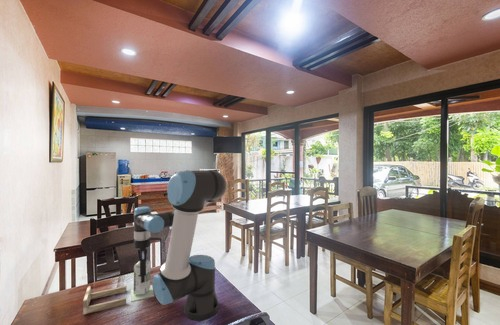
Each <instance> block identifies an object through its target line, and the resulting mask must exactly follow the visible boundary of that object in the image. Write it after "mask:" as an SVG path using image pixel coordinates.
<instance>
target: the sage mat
mask: <svg viewBox="0 0 500 325" xmlns="http://www.w3.org/2000/svg"><path fill="white" fill-rule="evenodd" d="M154 297H155V293H154V290H153V284H150V289H149V290H148V291H147V293H146V294H134V288H131V289H130V302H131V303H133V302H136V301H141V300H144V299H149V298H154Z"/></svg>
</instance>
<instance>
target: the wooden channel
mask: <svg viewBox="0 0 500 325" xmlns="http://www.w3.org/2000/svg"><path fill="white" fill-rule="evenodd" d="M91 287H92V286H91V285H88V286H87V288H86V292H85V294H84V297H83V300H82V305H83V307H82V308H83V310H82V314H83V315H87V314H90V313H96V312H100V311H104V310H107V309H111V308H116V307H120V306H125V305H127V297H125V296H124V297H122V298H121V297H120V298H118V299H112V300H110V301H109V300H108V301H104V302H101V303H96V304H92V305H90V302H91V300H96V299H98V298H104V297H108V296H113V295H118V294H122V293H126V292H127V285H123V286H119V287H118V286H117V287H113V288H109V289H104V290H99V291H95V292H92V288H91Z"/></svg>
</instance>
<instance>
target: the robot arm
mask: <svg viewBox="0 0 500 325" xmlns="http://www.w3.org/2000/svg"><path fill="white" fill-rule="evenodd" d="M226 191H227V181H226V178H225V177H224V176H223V174H222V173H220V172H219V171H218V170H213V169H206V170H204V169H203V170H187V169H186V170H182V171H177V172H175V173H174V174H173V175H172V176H171V177H170V178H169V180H168V184H167V186H166V193H167V200H168V202H169V203H170V204H171V207H172V208H173V210H171V211H170V210H169V211H165V212H158V213H152V209H151V207H149V206H138V207H135V208H134V209H133V210H134V212H133V239H134V240H133V248H134V249H137V255H138V256H137V258H138V262H139V261H140V275H138V277H139V276H140V289H143V288H146V260H147V259H148V258H147V256H148V255H147V254H148V250H147V249H148V248H149V247H150V246H151V245H152V244H151V241H152V238H151V233H152V234H156V233H157V234H158V233H159V232H161V231H162V230H164V229H168V228H171V231H170V237H169V244H168V249H167V252H166V253H167V256H166V260H165V261H164V262H163V263H162V265H161V267H160V270H159V273H156V274H155V275H153V277H152V279H151V280H152V281H151V282H152V284H151V285H152V287H153V292H154V297H156V299H157V301H158V302H159V303H160V304H161V305H162V306H165V305H168V304H173V303H174V302H176V301H178V300H180V299H182V298H184V297H186V298H185V301H184V304H183V305H184V306H183V313H184V315H185V317H186V318H188V319H190V320H193V321H202V320H203V321H204V320H207V319H209V318H212V317H213V316H215V314H217V313H218V311H219V298H218V296H217V293H216V288H215V287H216V286H215V284H216V261H215V259H214V257H212V256H209V255H207V254H206V255H205V254H194V255H191V254H192V247H193V242H194V237H195V232H196V226H197V223H198V222H197V221H198V217H199V213H201V212H202V211H203V210H204V208H205V207H206V206H207V205H209V204H211V203H215V202H217V201H219V199H220V198H222V197H223V196H224V195H225V192H226Z"/></svg>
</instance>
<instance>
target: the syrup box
mask: <svg viewBox="0 0 500 325" xmlns="http://www.w3.org/2000/svg"><path fill="white" fill-rule="evenodd" d="M151 264H152V263H151V260H147V259H146V288H143V289H140V276H139V277H138V275H140V261H139V260H138V262H137V263H135V264H134V266H133V289H134V294H146V293H147V291H148V290H149V289H150V285H151V273H152V272H151Z"/></svg>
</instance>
